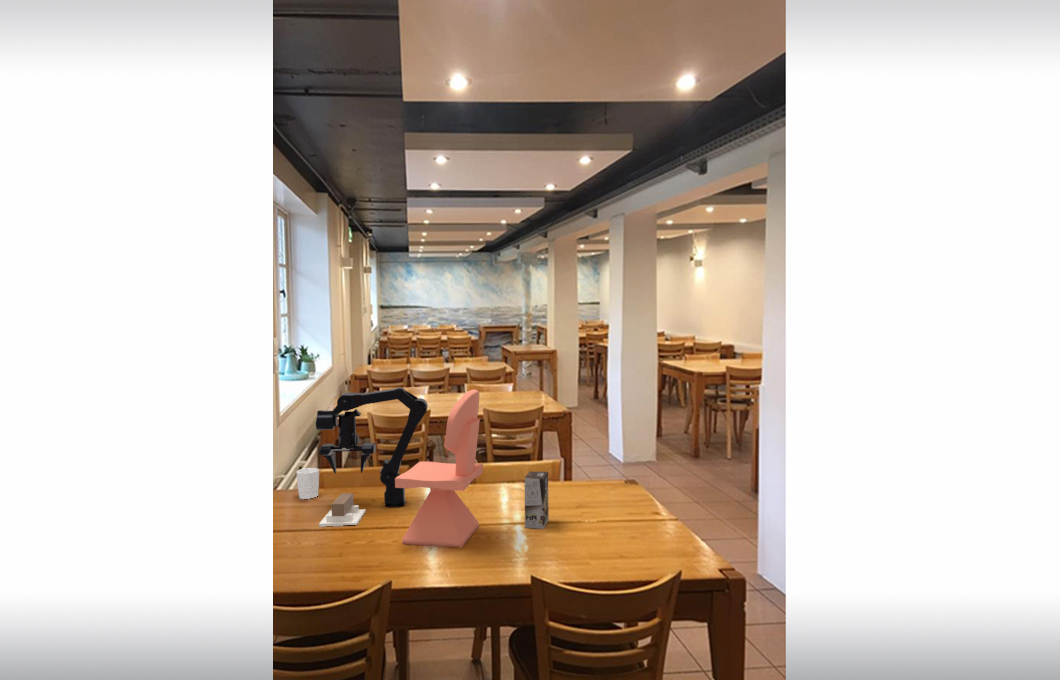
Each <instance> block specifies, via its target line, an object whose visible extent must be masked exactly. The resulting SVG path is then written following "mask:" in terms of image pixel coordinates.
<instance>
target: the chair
mask: <svg viewBox="0 0 1060 680" xmlns="http://www.w3.org/2000/svg"><path fill="white" fill-rule="evenodd" d="M479 404H480V391H479V390H477V389H474V388H473V389H470V390H469V391H466V392H465V393H464V394H463V395H462V396H461V397H459V398H458V400H457V401H456V402H455V403H454V405H453V406H452V408H451V410H450V413H449V414H448V418H447V422H446V429H445V430H446V431H445V439H444V444H443V447H444V448H445V449H446V450H448V451H449V452H451V453H453V455H454V456H455V457H454V459H455V463H448V462H447V463H444V462H437V461H422V460H421V461H418V462H417V463H416V464H415V465H413V467H412V468H411V467H410V469H409V470H407V471H406V472H403V473H401V474H400V475H399V476H398V477H396V478H395V488H405V489H414V488H415V489H416V488H417V489H418V488H424V489H425V488H426V489H429V490H430V491H429V493H428V494H427V496H426V498H425V500H424V501H423V503H422V505H421V506H420V508H419V510H418V511H417V513H416V514H415V517H414V518H413V520H412V522H411V523H410V525H409V527H408V528H407V530H406V532H405V534H404V535H403V537H402V540H401V541H402V542H401V543H402V544H401V545H410V544H411V545H412V546H426V547H427V546H428V547H429V546H430V547H440V548H441V547H442V546H443V547H444V548H445V547H446V548H457V547H459V549H460V548H461V549H462V548H463V547H464V545H465V544H466V543H467V542H468V540H469V539H470V538H471V537H472V535H473V534H475V532H476V531H477V529H479V527H480V525H479V523H480V522H479V521H478V519H477V518H476V517H475V515H474V514H473V513H472V512H471V510H470V509H469V508H468V507H467V505H466V504H465V502H464V501H463V500H462V498H460V497H459V495H458V494H457V492H455V491H460V492H461V491H462V492H463V491H465V490H466V489H468V487H469V486H470V484H471V483H472V481H474V480H475V479H476V478H478V477H480V476H481V475H482V474H483V472H484V468H483V466H484V464H483V463H476V458H477V456H476V455H477V449H478V440H479V431H480V430H479V429H480V419H481V418H478V416H479V408H480V407H479V406H480V405H479ZM411 545H410V546H411Z"/></svg>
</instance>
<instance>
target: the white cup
mask: <svg viewBox="0 0 1060 680" xmlns="http://www.w3.org/2000/svg"><path fill="white" fill-rule="evenodd" d="M296 482H297V483H296V484H297V492H298V498H299V500H304V499H308V500H311V499H310V498H314V497H316V498H318V497H319V487H320V486H319V485H320V484H319V483H320V469H319V468H317V467H308V468H305V467H304V468H302V469H297V470H296ZM317 496H318V497H317ZM314 499H315V498H314Z"/></svg>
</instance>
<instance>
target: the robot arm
mask: <svg viewBox="0 0 1060 680" xmlns="http://www.w3.org/2000/svg"><path fill="white" fill-rule="evenodd" d="M395 400H398V401H399V402H401V403H402V404H403V405H404V406H405V407H406V408H407V409H409V413H408V417H407V420H406V421H407V422H406V424H405V426H404V428H403V431H402V432H401V436H400V438H399V440H398V442H397V444H396V447H395V449H394V452H393V453H392V455H391V457H390V459H387V458H385V459H384V462H383V465H382V466H381V468H380V470H379V474H380V476H379V480H380V482H381V483H382V484H383V485H384V486H385V491H384V492H383V493H384V497H383V498H384V499H383V500H384V504H385V505H384V507H385V508H393V507H394V508H395V507H398V508H399V507H405V504H406V502H407V499H406V488H395V478H396V477H398V476H399V475H401V474H400V468H401V463H402V460H403V458H404V456H405V453H406V450H407V449H408V447H409V443H410V442H411V440H412V437H413V435H414V432H415V431H416V428H417V427H418V425H419V423H420V422H421V421H422V420H423V417H425V415H426V413H427V412H428V407H429V405H428V401H427V400H426V399H424V398H422V397H418V396H415V395H414V394H412V393H410V392H409V391H407V390H406V389H405V388H404V387H401V386H399V387H396V388H390V389H384V390H379V391H372V392H370V391H369V392H344V393H342V394H341V395H340V396H339V397H338V398H337V400H336V406H335V407H334V408H333V409H332V410H323V409H321V410H320V409H319V410H317V411H316V418H315V420H316V421H315V429H316V431H324V430H325V431H327V430H328V431H330V430H332V431H333V430H335V428H336V427H338V442H339V443H338V444H339V445H337V446H336V445H335V444H334V443H323V444H322V445H321V446H320V447H319V448H318V449H319V450H318V454H319V455H320V456H322V457H323V458H326V460H327V462H328V463H329V465H330V467H331V469H332V471H333V473H334V474H337V461H336V453H337V452H338V453H339V452H362V454H361V455H360V473H361V474H363V471H364V469H365V465H366V463H367V460H368V457H370V456H371V455H372V454H375V452H376V451H377V444H376V443H375V442H364V443H363V444H362V445H360V436H359V434H357V426H356V425H357V423H356V422H357V420H356V418H357V417H360V416H361V415H362V412H360V411H359V410H358V408H359V407H362V406H364V405H369V404H370V405H371V404H376V403H377V404H378V403H383V402H388V401H395ZM343 412H344V413H343Z"/></svg>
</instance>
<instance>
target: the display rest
mask: <svg viewBox="0 0 1060 680" xmlns="http://www.w3.org/2000/svg"><path fill="white" fill-rule="evenodd" d="M359 507H360V505H359V504H353V506H352V507H351V508H350V510H349V511H348V512H347V513H346V515H345V516H332V509H330V510H329V511H328V512H327V514H326V515H325V516H324V517H323V518H322V519H321V521H320V522H319V524H318V527H319V528H322V527H323V528H326V526H333V527H344V526H343V525H357V524H358V525H359V523H360V522H361V521H362V519H361V518H363V517H364V516H365V514H366V508H365V509H364V508H363V509H360V508H359ZM364 513H365V514H364ZM363 515H364V516H363ZM362 516H363V517H362ZM359 521H360V522H359ZM358 525H357V526H358Z"/></svg>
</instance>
